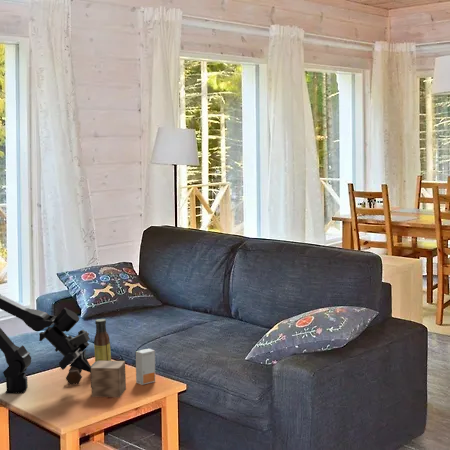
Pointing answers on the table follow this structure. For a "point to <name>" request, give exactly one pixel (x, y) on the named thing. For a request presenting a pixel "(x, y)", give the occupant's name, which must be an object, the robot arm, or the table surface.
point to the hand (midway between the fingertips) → (91, 371)
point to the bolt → (74, 375)
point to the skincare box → (145, 366)
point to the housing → (108, 378)
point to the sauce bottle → (102, 342)
